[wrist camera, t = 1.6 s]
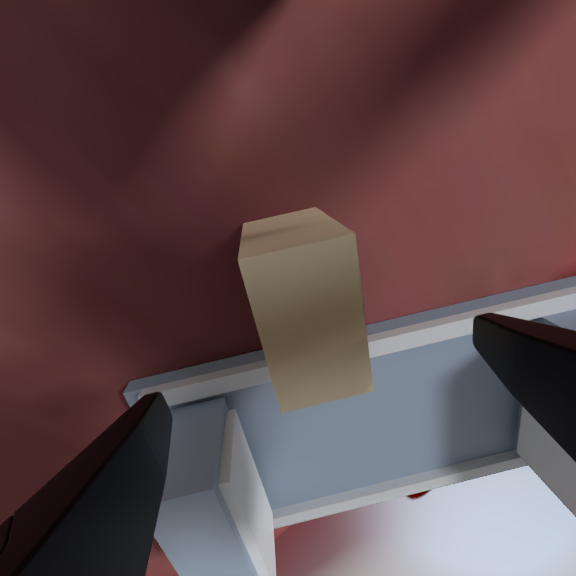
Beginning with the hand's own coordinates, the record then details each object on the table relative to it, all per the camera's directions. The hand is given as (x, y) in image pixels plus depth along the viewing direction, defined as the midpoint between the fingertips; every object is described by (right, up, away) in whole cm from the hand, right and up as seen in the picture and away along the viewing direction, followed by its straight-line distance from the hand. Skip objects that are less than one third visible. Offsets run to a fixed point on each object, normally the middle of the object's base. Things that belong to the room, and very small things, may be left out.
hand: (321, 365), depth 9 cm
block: (-1, +3, +7) cm, 8 cm away
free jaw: (-5, -8, +10) cm, 14 cm away
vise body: (+4, -6, +11) cm, 13 cm away
